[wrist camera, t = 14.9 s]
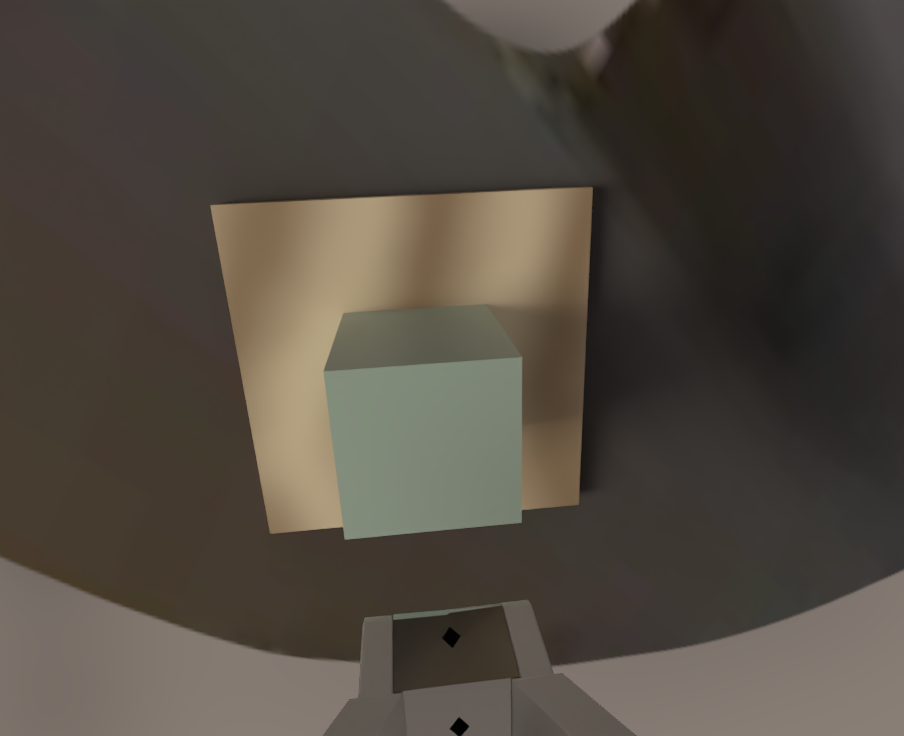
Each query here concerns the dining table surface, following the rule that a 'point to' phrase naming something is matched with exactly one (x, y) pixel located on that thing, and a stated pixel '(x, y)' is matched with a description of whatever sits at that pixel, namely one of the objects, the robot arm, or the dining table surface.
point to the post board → (403, 287)
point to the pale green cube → (425, 420)
